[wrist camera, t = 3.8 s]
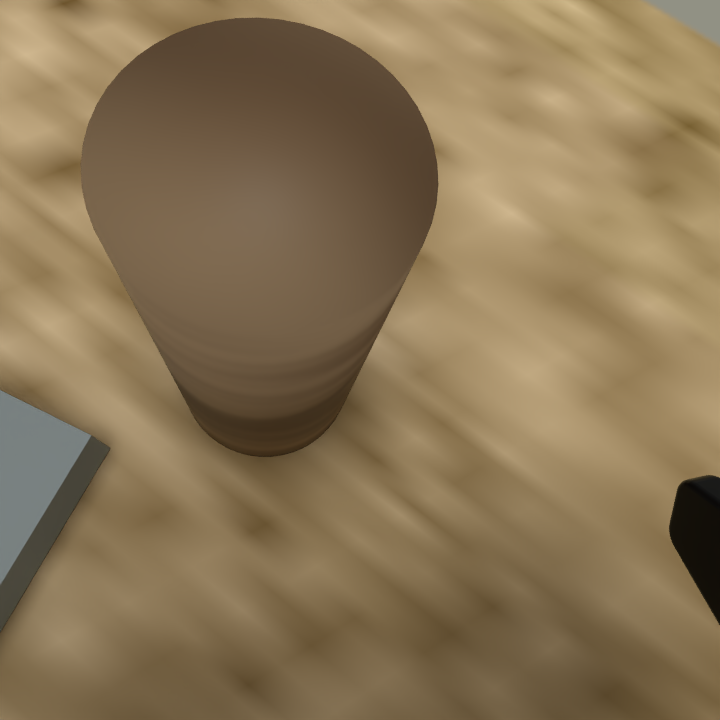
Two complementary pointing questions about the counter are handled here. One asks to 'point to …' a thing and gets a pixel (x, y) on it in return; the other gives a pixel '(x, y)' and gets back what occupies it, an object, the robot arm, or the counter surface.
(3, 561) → the frame
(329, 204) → the walnut peg
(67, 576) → the counter surface
